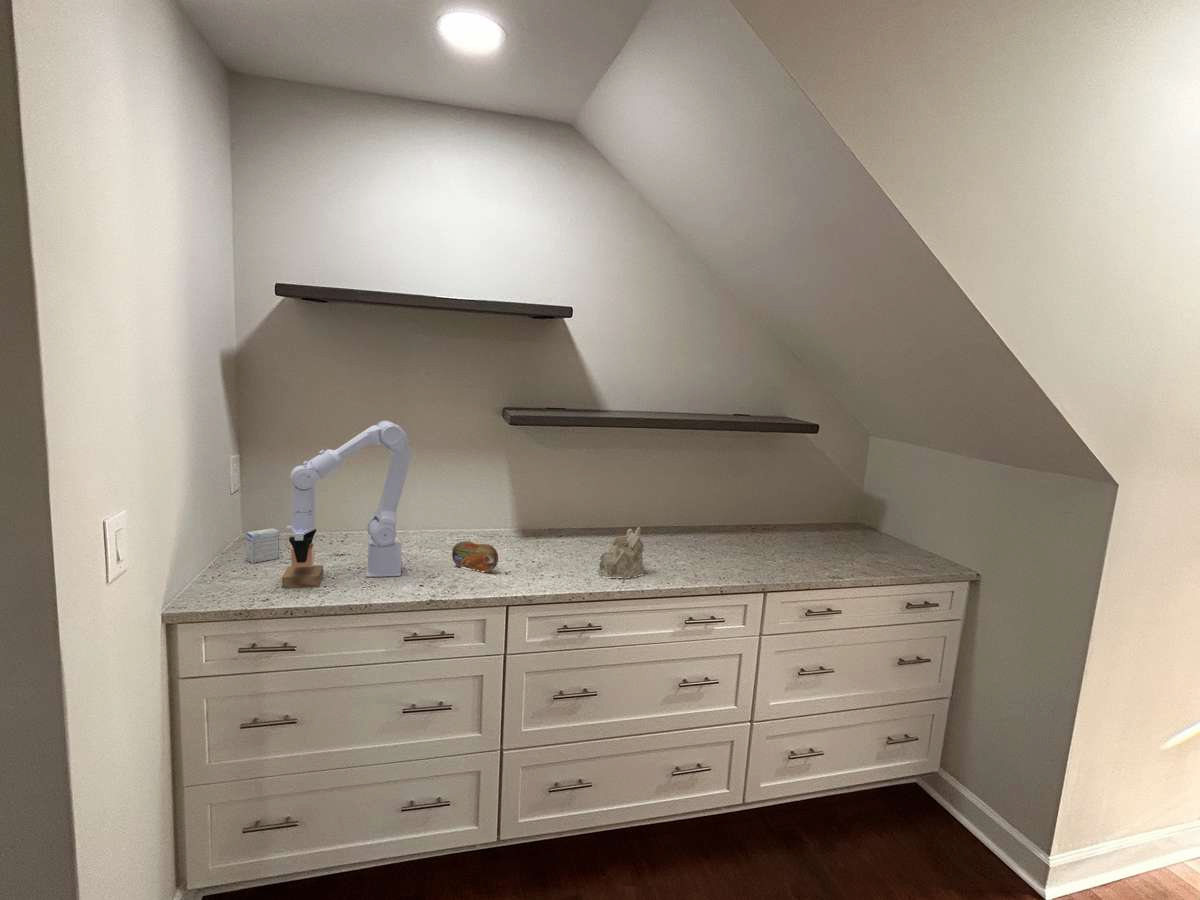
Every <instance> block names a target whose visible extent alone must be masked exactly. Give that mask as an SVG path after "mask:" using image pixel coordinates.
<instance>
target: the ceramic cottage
mask: <svg viewBox="0 0 1200 900" xmlns="http://www.w3.org/2000/svg"><path fill="white" fill-rule="evenodd" d="M613 541H614V542H612V544H611V545H610V546H609V549H608V550H607V551H606V552H605V551H604V552H603V553H602V554H601V556H600V557H599V560H600V561H599V568H598V569H597V571H596V573H597V572H598V573H599V574H601V575H602V576H605V577H622V578H626V577H627V578H628V577H634V576H638V575H641V574H643V573H644V574H645V568H644V566H643V562H644V560H643V559H644V557H643V549H644V547H645V545H644V543H643V542H642V540H641V527H640V526H639V527H637V528H636V530H633V529H632V528H628V529H627V531H626V535H622V536H616V538H614V540H613ZM644 574H643V575H644ZM601 575H600V576H601ZM602 576H601V577H602Z"/></svg>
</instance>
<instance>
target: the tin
mask: <svg viewBox="0 0 1200 900" xmlns="http://www.w3.org/2000/svg"><path fill="white" fill-rule="evenodd" d="M451 557H452V560H453V563H454V564H455V566H457V567H458V566H459V567H466V568H470V569H475V570H479V571H484V572H486V573H489V572H491V571H493V570H494V569H495V568H496V567H497V566H498V562H499V553H498V552H497V549H496V548H495V547H494V546H492V545H491V544H487V543H482V542H476V541H471V540H470V541H469V540H466V541H465V540H464V541H460V542H458V543H456V544H455V545H454V546H453V549H452V553H451ZM459 567H458V568H459Z"/></svg>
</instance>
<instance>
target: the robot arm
mask: <svg viewBox="0 0 1200 900" xmlns="http://www.w3.org/2000/svg"><path fill="white" fill-rule="evenodd" d="M382 444H383V445H384V446H385V447H386V448H387V450H388V451H389V453H390V454H391V456H392V457H391V460H390V463H389V468H388V471H387V474H386V478H385V482H384V486H383V490H382V492H381V496H380V500H379V503H378V507H377V509H375V512H374V515H373V517H372V518H371V519H370V521H369V522H368V524H367V527H366V528H367V529H366V530H367V533H368V534H369V535H370V538H369V540H368V541H367V542H368V543H367V544H368V545H367V546H368V547H367V568H366V571H365V578H377V577H379V578H380V577H400V576H402V568H403V561H402V542H397V541H396V537H397V530H396V525H397V511H398V506H399V503H400V499H401V495H402V492H403V489H404V484H405V481H406V477H407V473H408V471H409V466H410V462H411V458H412V455H413V453H412V449H411V446H410V443H409V439H408V435H407V433H406V431H404V428H402V426H400V425H399V424H396V423H393V422H392V421H390V420H381V421H379V422H377V424H374V425H371V426H370V427H368V428H367V429H365V430H364V431H362V432H360V433H359V434H357V435H355V437H353V438H351V439H350V440H349V441H347V442H345V443H344V444H342V445H341V446H340V447H338V448H337V449H326V450H324V449H321V450H320V451H318V455H317V456H316V455H315V457H313V458H311V459H310V460H308V461H307V460H305V461H303V462H302V464H303V465H297V466H295V467H294V468H293V469H292V470H291V472H290V475H289V480H290V482H291V483H292V485H291V494H290V497H291V499H290V500H291V501H290V502H291V503H290V506H291V507H290V509H291V514H290V515H291V516H290V518H291V525H287V526H286V530H288V531H289V530H290V531H291V532H292V533H293V534H294V536H290V537H288V541H289V543H290V545H291V546H292V547H293V549H294V552H295V556H296V560H297V563H304V562H306V559H307V555H308V549H309V545H310V544H313V540H314V536H315V534H316V532H317V528H316V524H315V523H316V522H315V521H316V520H315V519H316V518H315V516H316V515H315V514H316V513H315V509H316V504H315V503H316V501H315V500H316V499H315V498H316V495H315V485H316V484H317V481H318V480H322V479H323V478H324V477H326V476H328V475H330V474H331V473H333V472H334V471H336V470H337V469H339V468H340V467H341V466H342V462H343V460H346V459H347V458H349V457H350V456H352V455H354V454H355V453H357V452H359V451H361V450H362V449H364V448H366V447H367V446H381V445H382Z"/></svg>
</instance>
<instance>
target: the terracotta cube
mask: <svg viewBox="0 0 1200 900" xmlns="http://www.w3.org/2000/svg"><path fill="white" fill-rule="evenodd" d="M290 554H291V558H290V560H291V561H290V562H291V563H290V564H291V565H290V566H291V567H312V566H313V565H314V564H315V563H314V562H315V543H312V544H310V545H309V549H308V555H307V559H306V562H304V563H297V560H296V556H295V552H294V549H293V547H292V548H291V553H290Z"/></svg>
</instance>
